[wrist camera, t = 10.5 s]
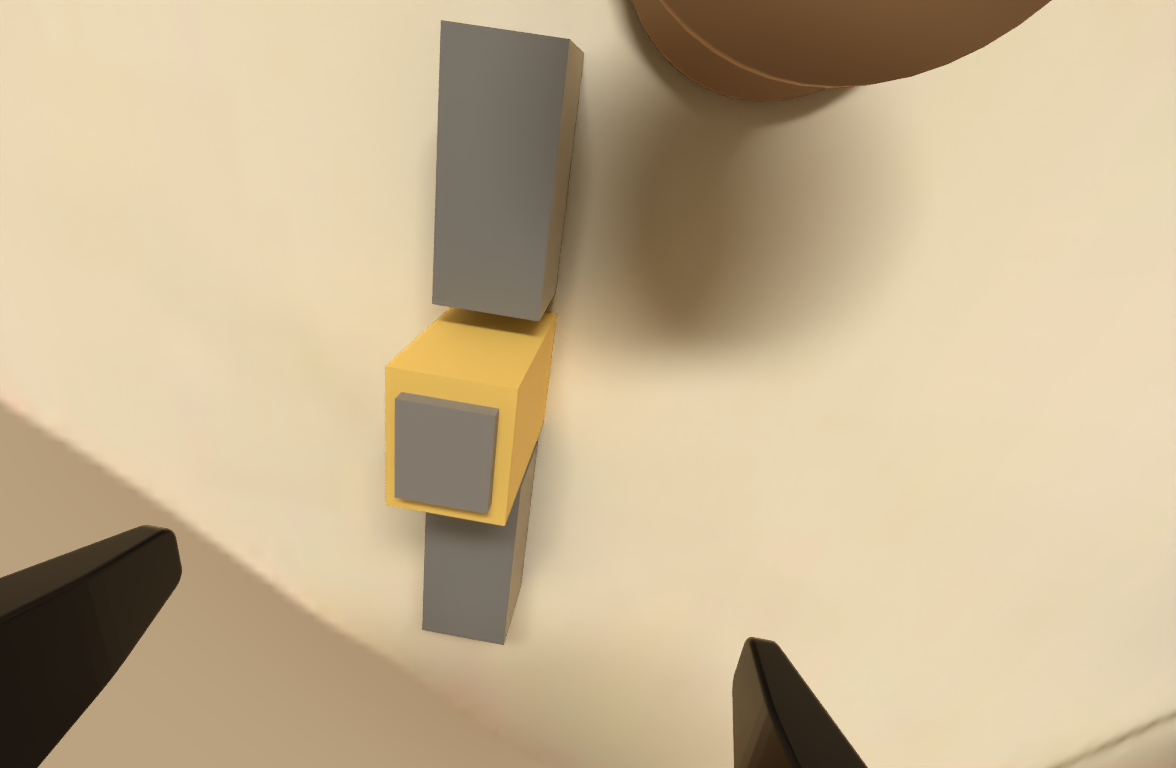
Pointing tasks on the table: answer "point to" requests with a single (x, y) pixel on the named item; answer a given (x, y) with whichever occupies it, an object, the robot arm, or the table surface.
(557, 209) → the grey square bar
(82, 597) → the robot arm
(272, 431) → the table surface
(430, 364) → the tab block
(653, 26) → the bobbin
